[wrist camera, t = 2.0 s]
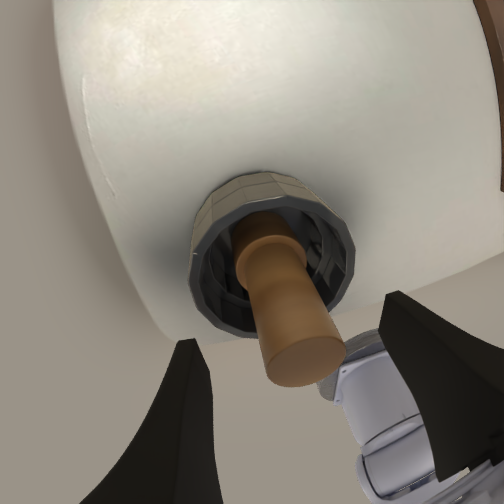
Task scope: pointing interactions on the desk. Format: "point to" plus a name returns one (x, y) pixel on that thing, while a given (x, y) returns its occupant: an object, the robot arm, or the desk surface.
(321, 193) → the desk surface
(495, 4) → the walnut board
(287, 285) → the pestle
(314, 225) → the mortar
